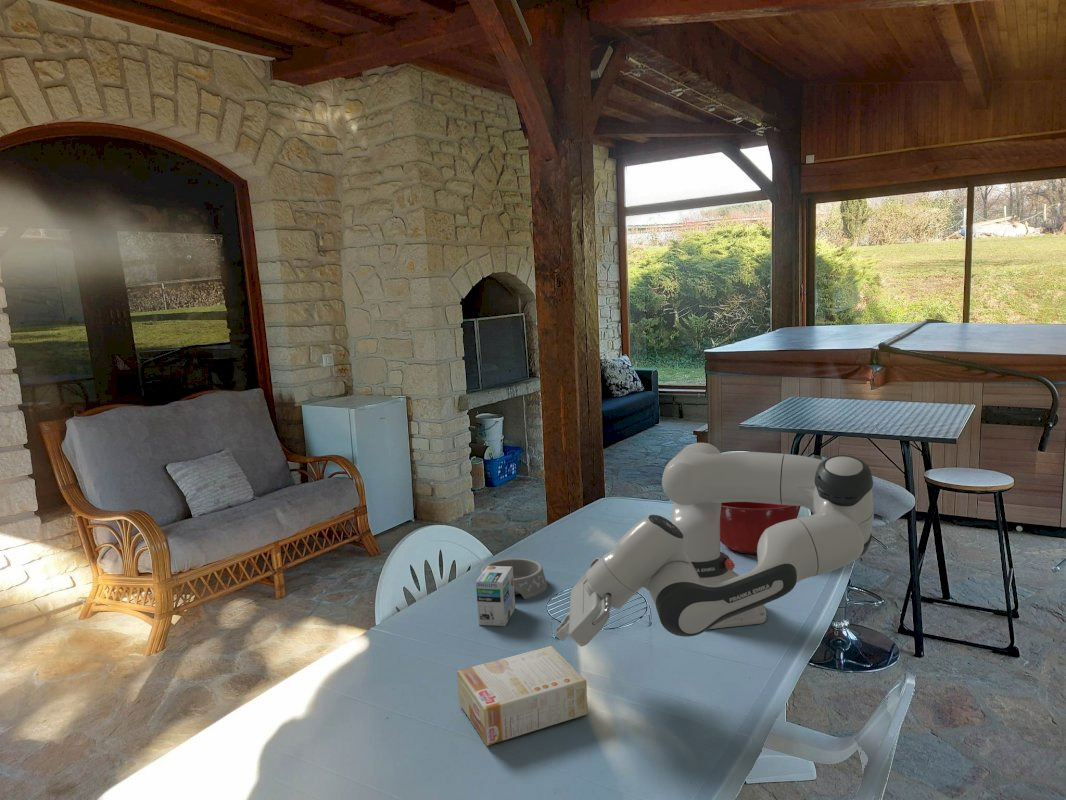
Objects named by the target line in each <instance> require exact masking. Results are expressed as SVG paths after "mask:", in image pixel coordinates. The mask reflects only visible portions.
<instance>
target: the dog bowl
mask: <svg viewBox="0 0 1066 800" xmlns="http://www.w3.org/2000/svg"><path fill="white" fill-rule="evenodd" d="M487 566H509V567H513V578H514V595H520V596H521V597H522V599H524V600H528V599H531V598H534V597H537V596H538V595H540V594H542V593H544V592H545V591H546V590H547V588H548V582H547V580H546V575H545V573H544V570H543V569H544V568H543V566H542V565H541V564H540V563H539V562H537V561H535V560H532V559H528V558H517V557H516V558H504V559H499V560H495V561H492V562H489V563H488V564H485V565H484V566H483V567H482V568H481V569H480V574H479V576H480V575H481V574H482V572H483V571H484V570H485V568H486V567H487Z"/></svg>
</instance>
